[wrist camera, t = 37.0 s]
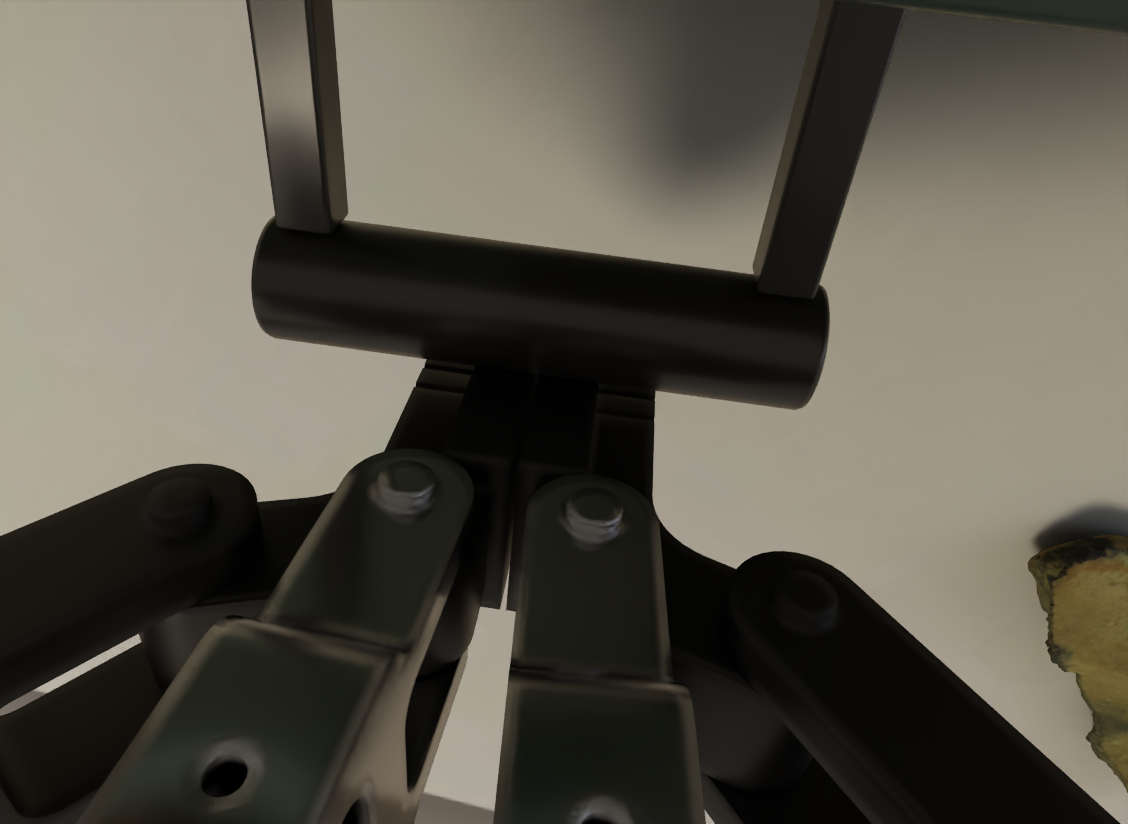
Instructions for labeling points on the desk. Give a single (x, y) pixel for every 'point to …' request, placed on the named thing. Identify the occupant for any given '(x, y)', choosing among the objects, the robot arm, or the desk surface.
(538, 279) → the drawer
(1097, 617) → the stone
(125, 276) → the desk surface
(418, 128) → the desk surface
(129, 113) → the desk surface
